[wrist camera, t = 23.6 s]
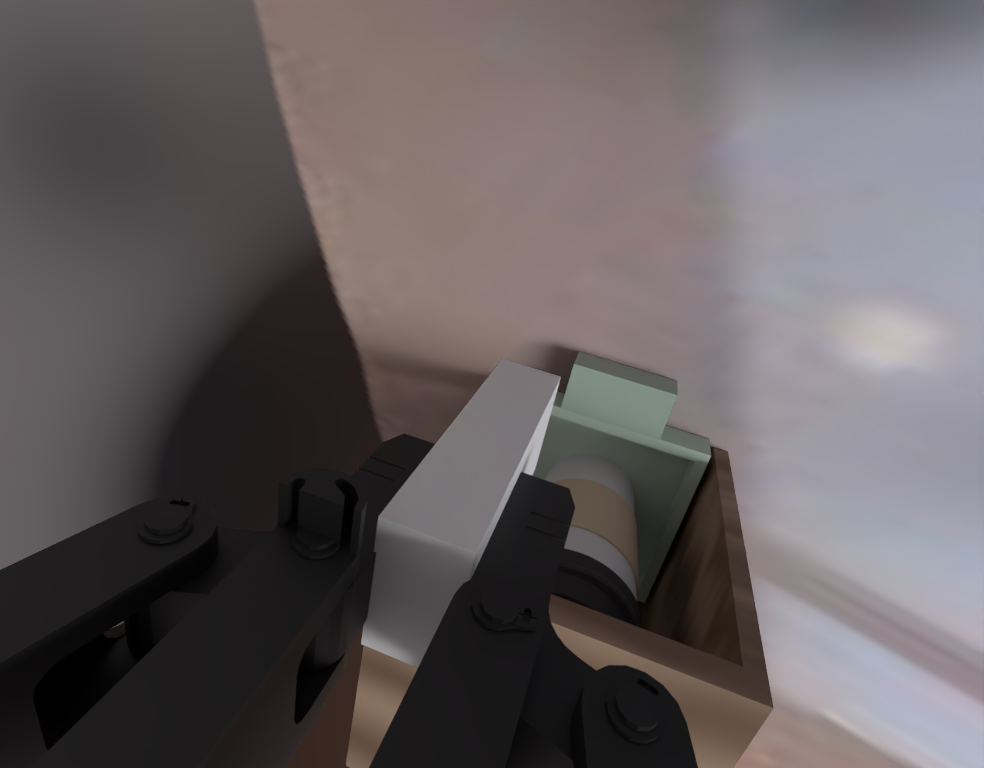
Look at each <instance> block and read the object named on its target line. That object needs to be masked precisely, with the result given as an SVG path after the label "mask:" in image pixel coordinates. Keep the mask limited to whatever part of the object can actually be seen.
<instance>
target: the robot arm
mask: <svg viewBox="0 0 984 768" xmlns="http://www.w3.org/2000/svg"><path fill="white" fill-rule="evenodd" d="M560 379H561V377H560V376H557V375H554V374H550V373H547V372H544V371H541V370H537V369H534V368H531V367H528V366H524V365H521V364H518V363H515V362H511V361H508V360H505V359H502V360H501V361H500V362H499V364H498V365H497V366H496V368H495V369H494V370H493V371H492V373H491V374H490V375H489V376H488V378H487V379H486V380H485V382H484V383H483V384H482V385H481V387H480V388H479V389H478V390H477V392H476V393H475V394H474V396H473V397H472V398H471V399H470V401H469V402H468V403H467V404H466V406H465V407H464V408H463V410H462V411H461V412H460V413H459V415H458V416H457V417H456V418H455V420H454V421H453V422H452V424H451V425H450V426H449V427H448V429H447V430H446V431H445V432H444V434H443V435H442V436H441V437H440V439H439V440H438V441H437V443H436V444H433V443H430V442H427V441H424V440H421V439H418V438H416V437H413V436H410V435H407V434H402V435H400V436H397V437H395V438H393V439H390V440H388V441H386V442H383V443H382V445H381V446H380V447H379V448H378V449H377V450H376V451H375V452H374V453H373V454H372V455H371V456H370V459H367V460H366V461H365V462H364V464H362V465H361V466H360V468H359V470H358V471H356V472H355V473H354V474H353V475H352V476H349V475H347V474H345V473H343V472H338V471H333V470H329V469H311V470H310V469H309V470H306V471H302V472H298V473H294V474H291V475H290V476H288V477H286V478H285V479H283V480H281V481H280V482H279V501H278V526H277V527H276V528H275V529H274V530H273V531H251V530H241V529H233V528H224V527H218V522H217V513H216V512H215V510H214V509H213V508H212V507H211V506H210V505H209V504H208V503H206V502H204V501H201V500H199V499H197V498H193V497H184V496H171V497H162V498H156V499H153V500H151V501H147V502H144V503H142V504H139V505H137V506H134V507H133V508H131V509H128V510H126V511H124V512H122V513H120V514H118V515H115V516H113V517H111V518H109V519H107V520H105V521H103V522H101V523H99V524H96V525H94V526H92V527H90V528H88V529H86V530H84V531H82V532H80V533H77V534H75V535H73V536H71V537H69V538H67V539H65V540H63V541H61V542H58V543H56V544H54V545H52V546H50V547H48V548H46V549H44V550H42V551H39V552H37V553H35V554H33V555H31V556H29V557H27V558H25V559H23V560H21V561H18V562H16V563H14V564H12V565H10V566H8V567H6V568H4V569H1V570H0V768H285V766H286V765H287V763H288V761H289V760H290V758H291V757H292V755H293V753H294V752H295V750H296V748H297V747H298V745H299V744H300V742H301V740H302V739H303V737H304V736H305V734H306V732H307V731H308V729H309V728H310V726H311V724H312V723H313V721H314V719H315V718H316V716H317V714H318V713H319V711H320V710H321V708H322V706H323V704H324V703H325V702H326V700H327V698H328V697H329V695H330V694H331V692H332V690H333V689H334V687H335V685H336V684H337V682H338V681H339V679H340V677H341V676H342V674H343V672H344V669H345V666H346V664H347V661H348V655H349V646H350V644H351V643H352V641H353V640H354V638H355V637H356V635H357V633H358V632H359V630H360V629H361V627H362V626H363V624H364V627H363V634H362V641H361V644H362V645H365V646H367V647H369V648H372V649H374V650H376V651H379V652H381V653H384V654H386V655H388V656H391V657H393V658H395V659H398V660H400V661H403V662H405V663H407V664H410V665H412V666H414V667H417V668H418V669H417V671H416V673H415V675H414V677H413V679H412V681H411V683H410V685H409V687H408V689H407V691H406V693H405V695H404V697H403V699H402V701H401V703H400V705H399V708H398V710H397V712H396V714H395V716H394V718H393V720H392V722H391V724H390V726H389V728H388V730H387V732H386V734H385V736H384V738H383V740H382V742H381V744H380V746H379V748H378V750H377V752H376V754H375V756H374V758H373V760H372V762H371V764H370V766H369V768H698V765H697V761H696V757H695V753H694V749H693V745H692V742H691V738H690V734H689V730H688V726H687V722H686V720H685V718H684V715H683V713H682V711H681V709H680V706H679V704H678V702H677V701H676V700H675V699H674V697H673V696H672V695H671V694H670V692H669V691H668V690H667V689H666V688H665V686H664V685H663V684H661V683H660V682H658V681H657V680H656V679H654V678H653V677H651V676H650V675H649V674H647V673H646V672H643V671H641V670H638V669H635V668H632V667H629V666H627V665H607V666H605V667H603V668H601V669H599V670H595V669H593V668H592V667H591V666H589V665H588V664H587V663H585V662H584V661H583V660H581V659H580V658H579V657H577V656H576V655H575V654H574V653H573V652H572V651H571V650H569V649H568V648H567V647H566V646H565V645H564V643H563V642H562V641H561V639H560V638H559V637H558V635H557V634H556V632H555V630H554V628H553V626H552V623H551V620H550V615H549V603H550V598H551V594H552V590H553V587H554V583H555V579H556V576H557V572H558V569H559V565H560V561H561V558H562V554H563V550H564V547H565V543H566V540H567V536H568V532H569V528H570V525H571V521H572V518H573V514H574V510H575V505H574V501H573V498H572V495H571V492H570V489H569V488H567V487H564V486H561V485H558V484H555V483H552V482H549V481H546V480H543V479H540V478H538V477H535V476H532V475H533V473H534V470H535V468H536V464H537V461H538V457H539V454H540V450H541V447H542V443H543V439H544V436H545V432H546V429H547V425H548V422H549V418H550V414H551V411H552V407H553V404H554V400H555V397H556V393H557V390H558V386H559V382H560ZM122 621H124V623H122V624H121V625H119V626H116V625H117V624H119V623H120V622H122ZM114 626H116V627H114ZM112 627H114V628H112ZM111 628H112V629H111Z"/></svg>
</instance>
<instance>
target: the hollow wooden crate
mask: <svg viewBox="0 0 984 768" xmlns="http://www.w3.org/2000/svg"><path fill="white" fill-rule="evenodd" d="M637 603H638V606H639V609H640V614H641V628H640V627H637V626H634V625H632V624H629V623H626V622H624V621H621V620H618V619H616V618H613V617H611V616H608V615H605V614H603V613H600V612H597V611H595V610H592V609H589V608H587V607H584V606H581V605H579V604H576V603H574V602H571V601H568V600H566V599H563V598H560V597H558V596H555V595H552V594H551V598H550V603H549V615H550V620H551V623H552V626H553V628H554V630H555V632H556V634H557V635H558V637H559V638H560V639H561V641H562V642H563V643H564V645H565V646H566V647H567V648H568V649H569V650H571V651H572V652H573V653H574V654H575V655H576V656H577V657H579V658H580V659H581V660H583V661H584V662H585V663H587V664H588V665H589V666H591V667H592V668H593V669H595V670H599V669H601V668H603V667H605V666H607V665H627V666H629V667H632V668H635V669H638V670H641V671H643V672H646V673H647V674H649V675H650V676H651V677H653V678H654V679H656V680H657V681H658V682H660V683H661V684H663V685H664V686H665V688H666V689H667V690H668V691H669V692H670V694H671V695H672V696H673V697H674V699H675V700H676V701H677V702H678V704H679V706H680V709H681V711H682V713H683V715H684V718H685V720H686V722H687V726H688V730H689V734H690V738H691V742H692V745H693V749H694V753H695V757H696V761H697V765H698V768H734V766H735V765H736V763H737V762H738V760H739V759H740V757H741V756H742V754H743V753H744V751H745V750H746V748H747V747H748V745H749V744H750V742H751V741H752V739H753V738H754V736H755V735H756V733H757V732H758V730H759V729H760V727H761V726H762V724H763V723H764V721H765V720H766V718H767V717H768V716H769V714H770V713H771V711H772V710H773V703H772V697H771V692H770V686H769V681H768V675H767V669H766V664H765V658H764V652H763V647H762V641H761V636H760V630H759V624H758V619H757V613H756V607H755V602H754V596H753V591H752V585H751V579H750V574H749V568H748V562H747V557H746V551H745V546H744V540H743V534H742V529H741V523H740V517H739V512H738V506H737V500H736V495H735V489H734V484H733V478H732V472H731V467H730V461H729V455H728V452H727V451H724V450H720V449H717V448H713V450H712V452H711V458H710V460H709V462H708V464H707V466H706V469H705V471H704V473H703V475H702V477H701V480H700V482H699V484H698V486H697V488H696V491H695V493H694V495H693V497H692V500H691V502H690V504H689V506H688V508H687V511H686V513H685V515H684V517H683V519H682V522H681V524H680V526H679V528H678V530H677V533H676V535H675V537H674V539H673V541H672V544H671V546H670V548H669V550H668V553H667V555H666V557H665V559H664V561H663V564H662V566H661V568H660V570H659V572H658V575H657V577H656V579H655V581H654V583H653V586H652V588H651V590H650V592H649V594H648V597H647V599H646V601H645V603H643V602H640V601H637ZM417 669H418V668H417V667H414V666H412V665H410V664H407V663H405V662H403V661H400V660H398V659H395V658H393V657H391V656H388V655H386V654H384V653H381V652H379V651H376V650H374V649H372V648H369V647H367V646H365V645H364V648H363V655H362V662H361V668H360V674H359V681H358V688H357V694H356V701H355V708H354V714H353V721H352V728H351V735H350V741H349V748H348V754H347V761H346V766H348V767H350V768H369V766H370V764H371V762H372V760H373V758H374V756H375V754H376V752H377V750H378V748H379V746H380V744H381V742H382V740H383V738H384V736H385V734H386V732H387V730H388V728H389V726H390V724H391V722H392V720H393V718H394V716H395V714H396V712H397V710H398V708H399V705H400V703H401V701H402V699H403V697H404V695H405V693H406V691H407V689H408V687H409V685H410V683H411V681H412V679H413V677H414V675H415V673H416V671H417Z"/></svg>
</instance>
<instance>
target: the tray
mask: <svg viewBox="0 0 984 768" xmlns="http://www.w3.org/2000/svg"><path fill="white" fill-rule="evenodd" d="M676 398H677V381H676V380H672V379H669V378H666V377H662V376H659V375H656V374H652V373H649V372H646V371H642V370H639V369H636V368H632V367H629V366H626V365H623V364H619V363H616V362H613V361H609V360H606V359H603V358H599V357H596V356H593V355H589V354H586V353H583V352H579V353H578V355H577V358H576V360H575V362H574V365H573V368H572V372H571V375H570V379H569V382H568V385H567V389H566V392H565V393H561V392H558V391H557V393H556V397H555V400H554V404H553V407H552V411H551V414H550V418H549V422H548V425H547V429H546V432H545V436H544V439H543V443H542V447H541V450H540V454H539V457H538V461H537V464H536V468H535V470H534V473H533V475H532V476H535V477H538V478H540V479H543V480H545V478H546V477H547V475H548V473H549V471H550V470H551V469H552V467H553V466H554V465H555V464H556V463H558V462H559V461H561V460H562V459H564V458H567V457H569V456H573V455H578V454H592V455H598V456H601V457H604V458H607V459H609V460H611V461H613V462H614V463H616V464H617V465H618V466H620V467H621V468H622V469H623V470H624V471H625V473H626V474H627V475H628V477H629V478H630V480H631V483H632V485H633V489H634V511H635V519H636V524H637V546H638V575H639V596H638V601H640V602H643V603H645V601H646V599H647V597H648V594H649V592H650V590H651V588H652V586H653V583H654V581H655V579H656V577H657V575H658V572H659V570H660V568H661V566H662V564H663V561H664V559H665V557H666V555H667V553H668V550H669V548H670V546H671V544H672V541H673V539H674V537H675V535H676V533H677V530H678V528H679V526H680V524H681V522H682V519H683V517H684V515H685V513H686V511H687V508H688V506H689V504H690V502H691V500H692V497H693V495H694V493H695V491H696V488H697V486H698V484H699V482H700V480H701V477H702V475H703V473H704V471H705V469H706V466H707V464H708V462H709V460H710V458H711V449H710V441H709V439H707V438H704V437H701V436H698V435H694V434H691V433H688V432H685V431H682V430H679V429H675V428H672V427H669V426H666V423H667V420H668V418H669V415H670V413H671V410H672V408H673V405H674V403H675V400H676Z"/></svg>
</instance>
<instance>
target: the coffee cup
mask: <svg viewBox="0 0 984 768" xmlns="http://www.w3.org/2000/svg"><path fill="white" fill-rule="evenodd" d="M545 480H546V481H549V482H552V483H555V484H558V485H561V486H564V487H567V488H569V489H570V492H571V495H572V498H573V501H574V505H575V510H574V514H573V518H572V521H571V525H570V528H569V532H568V536H567V540H566V543H565V547H564V550H563V554H562V558H561V561H560V565H559V569H558V572H557V576H556V579H555V583H554V587H553V590H552V595H555V596H558V597H560V598H563V599H566V600H568V601H571V602H574V603H576V604H579V605H581V606H584V607H587V608H589V609H592V610H595V611H597V612H600V613H603V614H605V615H608V616H611V617H613V618H616V619H618V620H621V621H624V622H626V623H629V624H632V625H634V626H637V627H640V628H641V614H640V609H639V606H638V603H637V601H638V596H639V575H638V546H637V524H636V519H635V511H634V489H633V485H632V483H631V480H630V478H629V477H628V475H627V474H626V473H625V471H624V470H623V469H622V468H621V467H620V466H618V465H617V464H616V463H614V462H613V461H611V460H609V459H607V458H604V457H601V456H598V455H592V454H578V455H573V456H569V457H567V458H564V459H562V460H561V461H559V462H558V463H556V464H555V465H554V466H553V467H552V469H551V470H550V471H549V473H548V475H547V477H546V478H545Z"/></svg>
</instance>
